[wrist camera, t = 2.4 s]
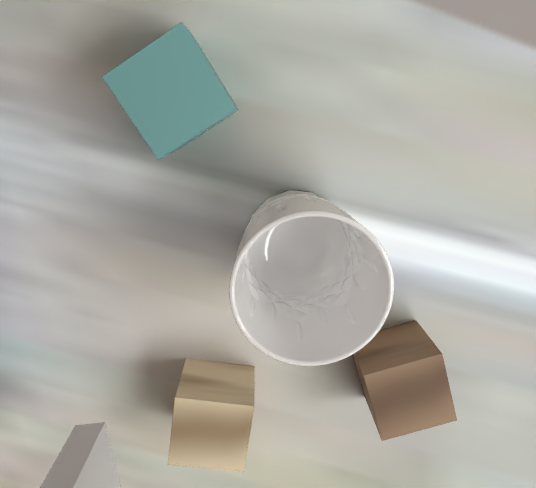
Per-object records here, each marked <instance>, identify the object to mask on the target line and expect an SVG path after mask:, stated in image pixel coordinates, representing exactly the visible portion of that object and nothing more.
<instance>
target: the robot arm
mask: <svg viewBox="0 0 536 488" xmlns="http://www.w3.org/2000/svg"><path fill="white" fill-rule="evenodd" d="M40 488H121V486H120V482H119V478H118V474H117V469H116V465H115V461H114V457H113V453H112V449H111V445H110V441H109V437H108V433H107V429H106V425H105V422H102V423H94V424H85V425H77V426H75V427H74V429H73V431H72V432H71V434H70V436H69V438H68V439H67V441H66V443H65V445H64V447H63V448H62V450H61V452H60V454H59V455H58V457H57V459H56V461H55V462H54V464H53V466H52V468H51V469H50V471H49V473H48V475H47V476H46V478H45V480H44V482H43V483H42V485H41V487H40Z"/></svg>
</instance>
